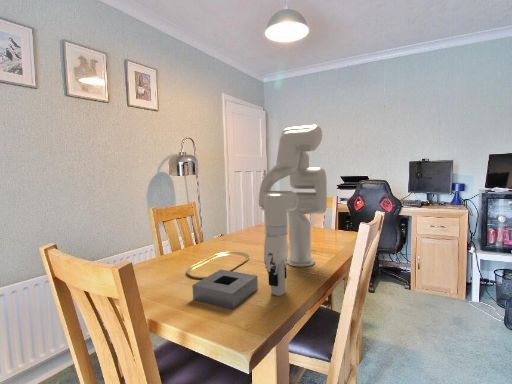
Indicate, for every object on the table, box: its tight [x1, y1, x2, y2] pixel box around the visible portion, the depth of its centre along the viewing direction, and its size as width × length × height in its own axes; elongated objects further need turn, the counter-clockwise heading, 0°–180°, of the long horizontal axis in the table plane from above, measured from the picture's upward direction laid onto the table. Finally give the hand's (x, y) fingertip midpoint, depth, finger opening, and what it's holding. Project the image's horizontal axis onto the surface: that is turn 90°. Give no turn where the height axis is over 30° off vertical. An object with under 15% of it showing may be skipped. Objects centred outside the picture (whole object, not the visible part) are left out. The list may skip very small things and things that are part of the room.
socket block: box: [192, 268, 259, 310], centre depth 99 cm, size 16×16×5 cm
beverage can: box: [270, 260, 286, 297], centre depth 98 cm, size 5×5×12 cm
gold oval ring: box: [186, 251, 250, 280], centre depth 130 cm, size 19×35×2 cm, turn 153°
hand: (277, 281), depth 98 cm, fingers open, 6 cm apart
